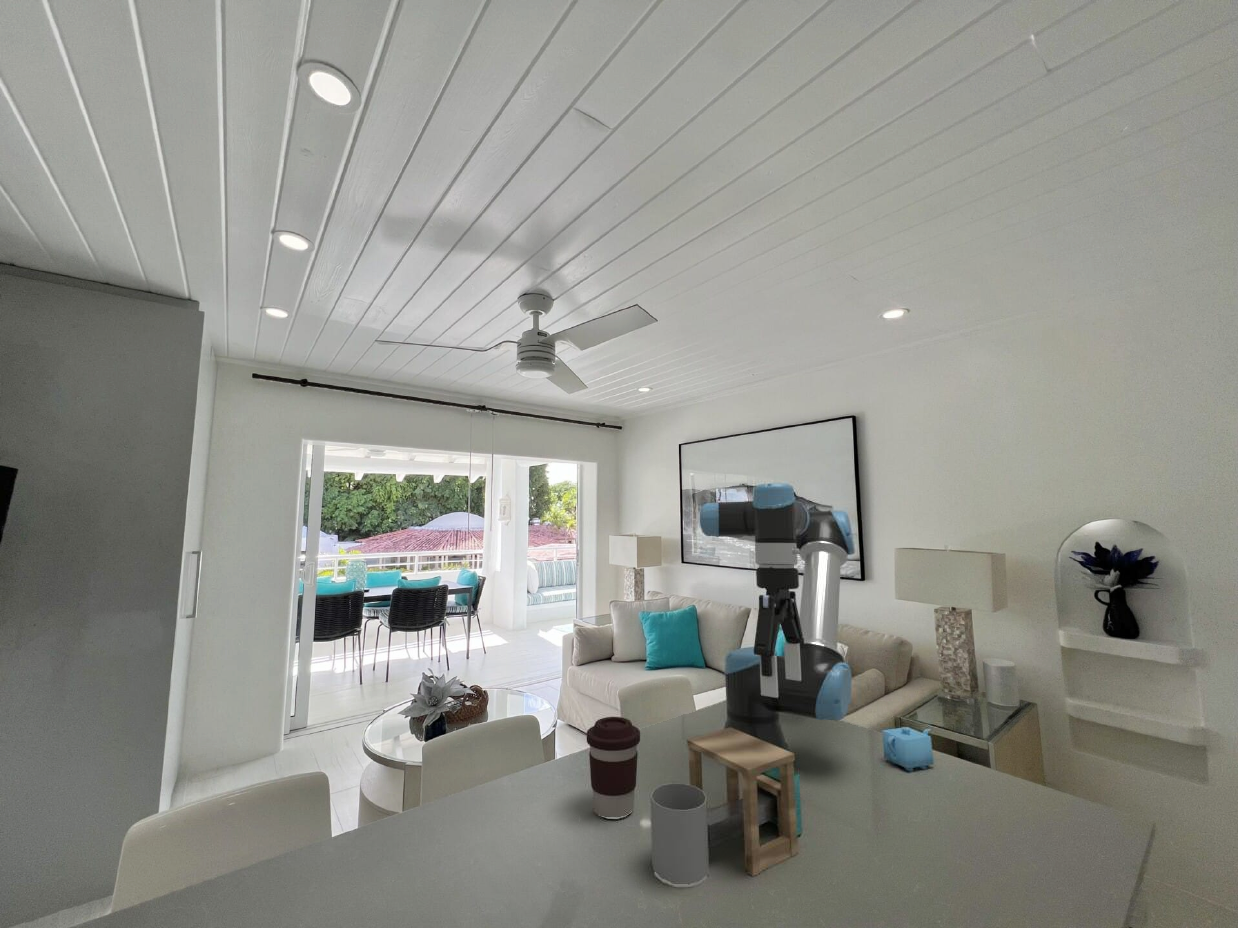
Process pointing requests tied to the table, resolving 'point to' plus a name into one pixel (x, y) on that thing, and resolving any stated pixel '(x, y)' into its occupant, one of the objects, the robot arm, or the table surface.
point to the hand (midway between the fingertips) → (782, 687)
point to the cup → (679, 833)
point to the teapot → (908, 747)
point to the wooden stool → (752, 789)
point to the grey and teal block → (731, 817)
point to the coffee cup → (613, 765)
